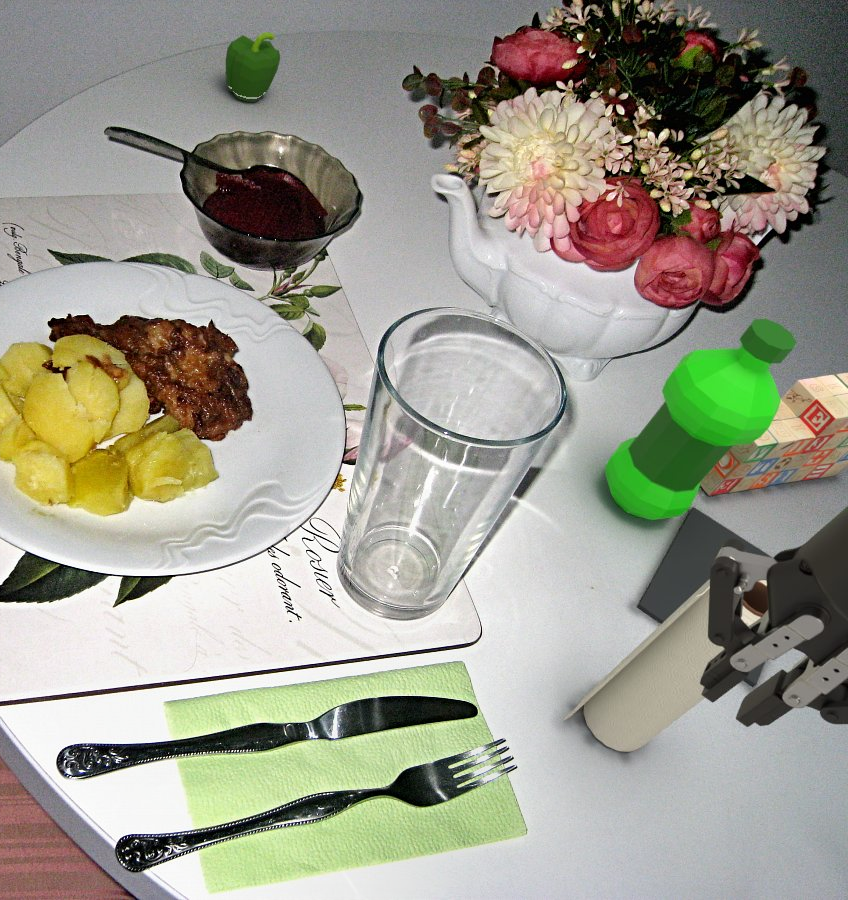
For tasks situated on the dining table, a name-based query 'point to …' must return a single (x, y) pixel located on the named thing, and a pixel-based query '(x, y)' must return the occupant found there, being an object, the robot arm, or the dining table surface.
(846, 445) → the stack of blocks
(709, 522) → the mat
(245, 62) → the bell pepper
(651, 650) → the paper towel roll
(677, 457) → the plastic bottle
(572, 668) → the dining table surface
